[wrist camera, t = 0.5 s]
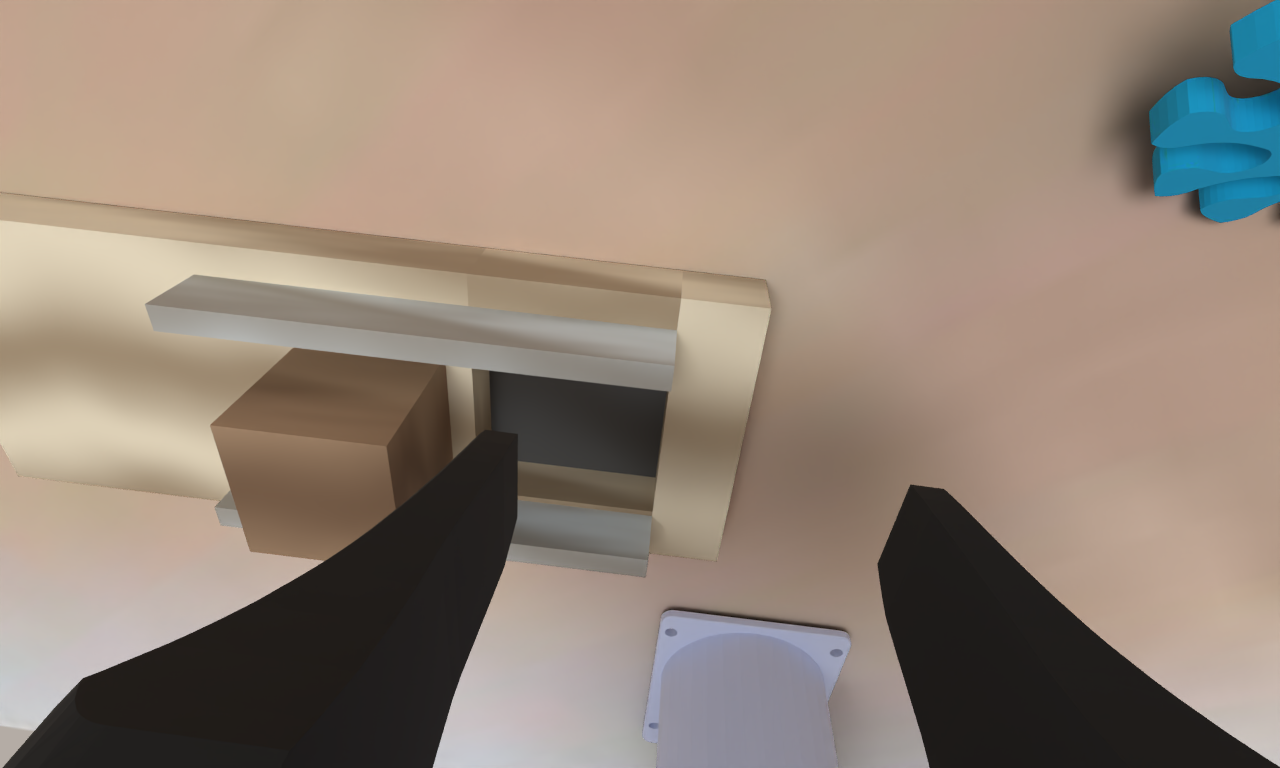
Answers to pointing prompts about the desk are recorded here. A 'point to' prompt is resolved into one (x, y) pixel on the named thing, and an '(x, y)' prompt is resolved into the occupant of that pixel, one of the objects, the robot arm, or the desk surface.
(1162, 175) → the gear
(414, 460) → the walnut cube
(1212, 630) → the desk surface
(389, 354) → the channel board
